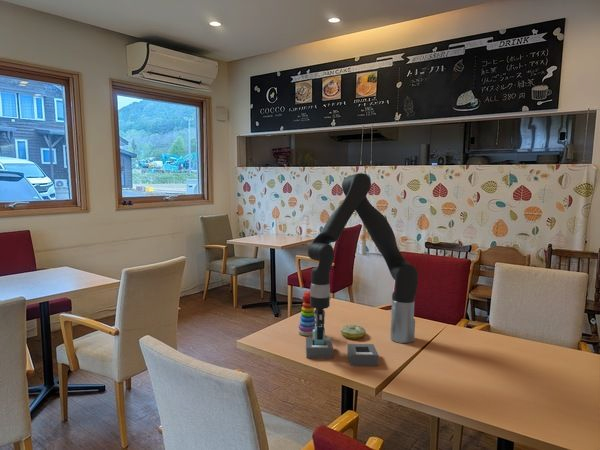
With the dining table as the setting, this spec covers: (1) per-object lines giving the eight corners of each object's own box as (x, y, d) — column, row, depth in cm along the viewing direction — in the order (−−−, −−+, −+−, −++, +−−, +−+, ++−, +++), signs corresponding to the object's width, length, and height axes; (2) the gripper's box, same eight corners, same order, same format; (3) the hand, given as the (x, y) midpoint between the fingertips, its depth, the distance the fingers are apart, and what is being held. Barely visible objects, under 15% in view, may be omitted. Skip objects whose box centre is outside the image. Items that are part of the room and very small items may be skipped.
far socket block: (330, 347, 164) (330, 337, 164) (332, 358, 154) (333, 347, 154) (305, 347, 164) (305, 337, 163) (306, 358, 154) (306, 347, 154)
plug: (323, 350, 161) (323, 326, 160) (324, 354, 157) (324, 329, 156) (312, 350, 161) (312, 326, 160) (312, 354, 157) (313, 329, 156)
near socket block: (373, 354, 158) (373, 343, 158) (378, 365, 148) (378, 354, 148) (347, 353, 158) (347, 343, 158) (350, 365, 148) (351, 354, 148)
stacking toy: (316, 336, 175) (317, 294, 173) (297, 336, 175) (298, 294, 173) (316, 330, 183) (316, 289, 181) (298, 329, 183) (298, 289, 181)
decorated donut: (368, 334, 179) (369, 325, 179) (360, 342, 170) (360, 333, 169) (347, 329, 184) (347, 321, 184) (337, 337, 175) (337, 328, 175)
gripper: (331, 300, 149) (330, 342, 151) (328, 289, 163) (327, 328, 165) (310, 299, 149) (310, 342, 151) (309, 289, 163) (309, 328, 165)
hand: (319, 335), depth 158 cm, fingers open, 8 cm apart
